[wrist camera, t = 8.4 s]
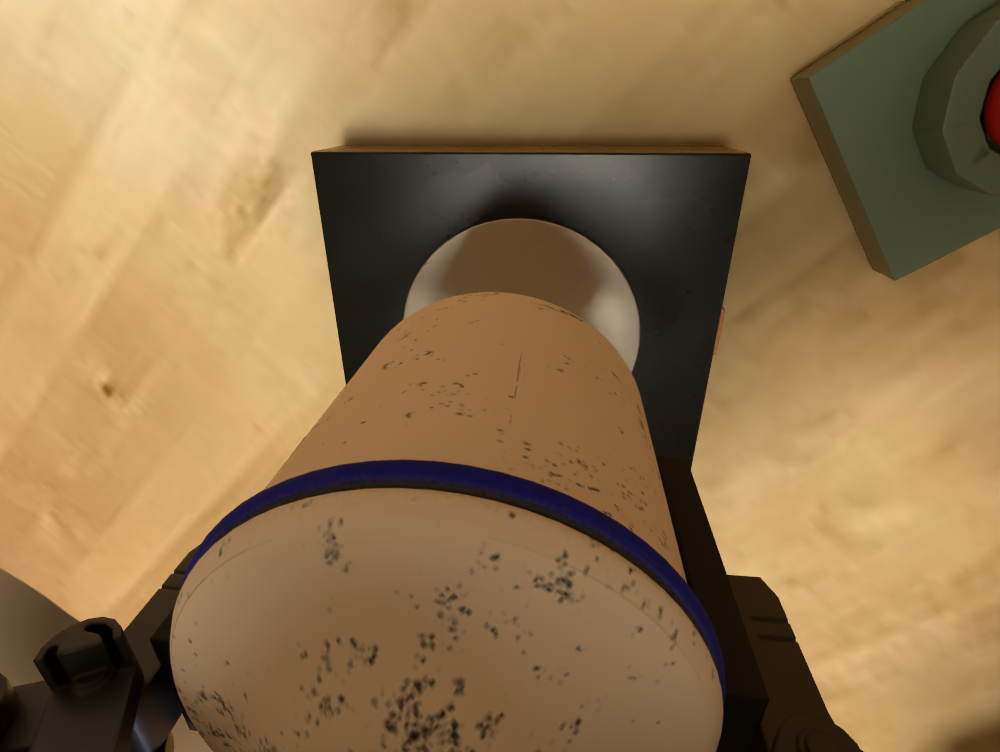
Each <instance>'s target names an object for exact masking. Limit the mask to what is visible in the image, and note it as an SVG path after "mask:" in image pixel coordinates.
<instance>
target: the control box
mask: <svg viewBox="0 0 1000 752" xmlns="http://www.w3.org/2000/svg"><path fill="white" fill-rule="evenodd" d="M999 73H1000V0H908V1H907V2H905V3H904V4H902V5H901V6H899V7H898V8H896V9H895V10H893V11H892V12H890V13H889V14H887V15H886V16H884V17H883V18H881V19H880V20H878V21H877V22H875V23H874V24H872V25H871V26H869V27H868V28H866V29H865V30H863V31H862V32H860V33H859V34H857V35H856V36H854V37H853V38H851V39H850V40H848V41H847V42H845V43H844V44H842V45H841V46H839V47H838V48H836V49H835V50H833V51H832V52H830V53H829V54H827V55H826V56H824V57H823V58H821V59H820V60H818V61H817V62H815V63H814V64H812V65H811V66H809V67H808V68H806V69H805V70H803V71H802V72H800V73H799V74H797V75H796V76H794V77H793V78H791V82H792V85H793V87H794V89H795V92H796V94H797V96H798V99H799V101H800V103H801V105H802V108H803V110H804V112H805V115H806V117H807V119H808V122H809V124H810V126H811V128H812V131H813V133H814V135H815V138H816V140H817V142H818V145H819V147H820V149H821V151H822V154H823V156H824V158H825V161H826V163H827V165H828V168H829V170H830V172H831V174H832V177H833V179H834V181H835V184H836V186H837V188H838V191H839V193H840V195H841V197H842V200H843V202H844V204H845V207H846V209H847V211H848V214H849V216H850V218H851V220H852V223H853V225H854V227H855V230H856V232H857V234H858V237H859V239H860V241H861V243H862V246H863V248H864V250H865V253H866V255H867V257H868V260H869V262H870V264H871V266H872V269H874V270H876V271H877V272H879V273H881V274H883V275H885V276H887V277H889V278H891V279H892V280H897V279H899V278H901V277H903V276H905V275H907V274H909V273H911V272H913V271H915V270H917V269H919V268H921V267H923V266H925V265H927V264H929V263H931V262H933V261H935V260H937V259H939V258H941V257H943V256H945V255H946V254H948V253H950V252H952V251H954V250H956V249H958V248H960V247H962V246H964V245H966V244H968V243H970V242H972V241H974V240H976V239H978V238H980V237H982V236H984V235H986V234H988V233H990V232H992V231H994V230H996V229H998V228H1000V147H999V146H998V145H997V144H996V143H995V142H994V141H993V140H992V139H991V137H990V136H989V134H988V132H987V130H986V126H985V122H984V109H985V103H986V99H987V96H988V93H989V91H990V88H991V86H992V84H993V82H994V81H995V79H996V77H997V76H998V74H999Z"/></svg>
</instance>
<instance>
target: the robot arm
mask: <svg viewBox="0 0 1000 752" xmlns="http://www.w3.org/2000/svg"><path fill="white" fill-rule="evenodd" d="M302 441H303V440H302ZM299 445H300V444H299ZM299 445H298V446H299ZM295 450H296V449H295ZM288 459H289V458H288ZM657 465H658V469H659V473H660V477H661V481H662V485H663V489H664V493H665V497H666V501H667V505H668V509H669V513H670V517H671V521H672V525H673V529H674V533H675V537H676V541H677V545H678V549H679V553H680V557H681V561H682V565H683V569H684V573H685V577H686V581H687V584H688V585H689V587H690V588H691V589H692V591H693V592H694V594H695V595H696V596H697V598H698V599H699V601H700V602H701V604H702V606H703V608H704V610H705V611H706V613H707V615H708V617H709V619H710V621H711V623H712V625H713V628H714V631H715V633H716V636H717V638H718V641H719V644H720V648H721V652H722V657H723V661H724V666H725V678H726V693H725V704H724V709H723V723H722V732H721V736H720V739H719V743H718V747H717V750H716V752H863V751H862V750H860V748H859V746H858V745H857V743H856V742H855V741H854V740H853V739H852V738H851V737H850V736H849V735H848V734H847V733H846V732H845V731H844V730H843V729H842V728H840V727H839V726H837V725H835V723H834V722H833V720H832V718H831V716H830V715H829V713H828V711H827V709H826V706H825V704H824V702H823V700H822V697H821V695H820V693H819V690H818V688H817V686H816V683H815V681H814V679H813V677H812V674H811V672H810V670H809V667H808V665H807V663H806V660H805V658H804V656H803V654H802V651H801V649H800V647H799V644H798V642H796V637H795V635H794V633H793V630H792V628H791V626H790V624H788V619H787V617H786V614H785V612H784V610H783V607H782V605H781V603H780V601H779V598H778V597H777V596H776V594H775V593H774V592H773V591H772V590H771V589H770V588H769V587H768V586H767V585H766V583H765V582H764V581H763V580H762V579H761V578H760V577H748V576H735V575H727V574H726V571H725V568H724V565H723V562H722V559H721V557H720V554H719V551H718V548H717V545H716V542H715V539H714V536H713V533H712V531H711V528H710V525H709V522H708V519H707V516H706V513H705V510H704V507H703V505H702V502H701V499H700V496H699V493H698V490H697V487H696V484H695V482H694V479H693V476H692V473H691V470H690V467H689V464H688V461H687V458H680V457H662V456H657ZM200 545H201V544H200ZM200 545H199V546H200ZM199 546H198V547H196V548H195V549H193V550H192V551H191V552H189V553H188V555H187V556H186V557H185V558H184V559H183V561H182V562H181V563H180V564H179V565H178V567H177V568H176V569H175V570H174V574H171V575H170V576H169V577H168V579H167V580H166V581H165V582H164V584H163V585H162V588H161V589H159V590H158V591H157V592H156V593H155V594H154V596H153V597H152V598H151V599H150V600H149V602H148V603H147V604H146V605H145V606H144V608H143V609H142V610H141V611H140V612H139V614H138V615H137V616H136V617H135V618H134V620H133V621H132V622H131V623H130V625H129V626H128V627H127V628H126V629H125V631H124V632H123V630H122V627H121V626H120V625H119V624H118V623H117V621H116V620H115V619H110V618H106V617H99V618H92V619H87V620H84V621H82V622H79V623H77V624H74V625H71V626H70V627H68V628H66V629H65V630H63V631H61V632H60V633H58V634H57V635H55V636H54V637H53V638H52V639H51V640H50V641H49V642H47V643H46V644H45V645H44V646H43V647H42V648H41V650H40V651H39V653H38V654H37V656H36V657H35V659H34V660H33V662H34V663H35V665H36V667H37V668H38V670H39V672H40V673H41V675H42V676H43V678H44V680H45V681H40V682H35V683H30V684H25V685H20V686H15V687H12V686H11V684H10V683H9V681H8V680H7V678H6V677H4V676H3V675H2V674H1V673H0V752H174V739H173V735H172V733H171V730H172V728H173V727H174V725H175V724H176V722H177V720H178V719H179V717H180V715H181V714H182V713H183V716H184V718H185V720H186V722H187V724H188V727H189V729H190V730H195V731H197V729H196V728H195V726H194V724H193V723H192V721H191V720H190V718H189V716H188V714H187V713H186V710H185V708H184V706H183V704H182V702H181V700H180V698H179V695H178V692H177V688H176V685H175V682H174V678H173V673H172V667H171V662H170V633H171V625H172V617H173V611H174V607H175V604H176V601H177V597H178V594H179V592H180V590H181V587H182V583H183V580H184V577H185V573H186V570H187V568H188V566H189V564H190V562H191V560H192V558H193V556H194V554H195V552H196V551H197V549H198V548H199Z"/></svg>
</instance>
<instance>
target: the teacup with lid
mask: <svg viewBox="0 0 1000 752" xmlns="http://www.w3.org/2000/svg"><path fill="white" fill-rule="evenodd" d="M170 662H171V667H172V673H173V678H174V682H175V685H176V688H177V692H178V695H179V698H180V700H181V702H182V704H183V706H184V708H185V710H186V713H187V714H188V716H189V718H190V720H191V721H192V723H193V724H194V726H195V728H196V729H197V731H198V732H199V734H200V735H201V737H202V738H203V739H204V740H205V742H206V743H207V744H208V746H209V747H210V748H211V749H212V750H213V751H214V752H716V750H717V747H718V743H719V739H720V736H721V732H722V723H723V709H724V704H725V693H726V678H725V666H724V661H723V657H722V652H721V648H720V644H719V641H718V638H717V636H716V633H715V631H714V628H713V625H712V623H711V621H710V619H709V617H708V615H707V613H706V611H705V610H704V608H703V606H702V604H701V602H700V601H699V599H698V598H697V596H696V595H695V594H694V592H693V591H692V589H691V588H690V587H689V585H688V584H687V581H686V577H685V573H684V569H683V565H682V561H681V557H680V553H679V549H678V545H677V541H676V537H675V533H674V529H673V525H672V521H671V517H670V513H669V509H668V505H667V501H666V497H665V493H664V489H663V485H662V481H661V477H660V473H659V469H658V465H657V461H656V457H655V453H654V449H653V445H652V441H651V437H650V433H649V428H648V424H647V420H646V416H645V412H644V408H643V404H642V400H641V396H640V393H639V390H638V387H637V384H636V382H635V379H634V377H633V375H632V373H631V372H630V370H629V368H628V366H627V364H626V363H625V361H624V360H623V358H622V357H621V355H620V354H619V353H618V351H617V350H616V349H615V348H614V347H613V345H612V344H611V343H610V342H609V341H608V340H607V339H606V338H605V337H604V336H603V335H602V334H601V333H600V332H599V331H597V330H596V329H595V328H594V327H593V326H591V325H590V324H589V323H587V322H586V321H584V320H583V319H581V318H580V317H578V316H577V315H575V314H573V313H571V312H569V311H567V310H565V309H564V308H562V307H559V306H557V305H554V304H552V303H549V302H547V301H543V300H540V299H537V298H534V297H529V296H524V295H519V294H513V293H503V292H480V293H469V294H464V295H458V296H454V297H450V298H447V299H443V300H440V301H437V302H435V303H433V304H430V305H428V306H426V307H424V308H422V309H420V310H418V311H416V312H414V313H413V314H411V315H410V316H408V317H407V318H405V319H404V320H402V321H401V322H400V323H399V324H398V325H396V326H395V327H394V328H393V329H392V330H391V331H390V332H389V333H388V334H387V335H386V336H385V337H384V338H383V339H382V340H381V341H380V343H379V344H378V345H377V347H376V348H375V349H374V350H373V352H372V353H371V354H370V355H369V357H368V358H367V359H366V361H365V362H364V363H363V364H362V366H361V367H360V368H359V369H358V371H357V372H356V373H355V375H354V376H353V377H352V378H351V380H350V381H349V382H348V383H347V385H346V386H345V387H344V389H343V390H342V391H341V392H340V394H339V395H338V396H337V397H336V399H335V400H334V401H333V403H332V404H331V405H330V406H329V408H328V409H327V410H326V411H325V413H324V414H323V415H322V417H321V418H320V419H319V420H318V422H317V423H316V424H315V425H314V427H313V428H312V429H311V431H310V432H309V433H308V434H307V436H306V437H305V438H304V439H303V441H302V442H301V443H300V445H299V446H298V447H297V448H296V450H295V451H294V452H293V453H292V455H291V456H290V457H289V459H288V460H287V461H286V462H285V464H284V465H283V466H282V467H281V469H280V470H279V471H278V473H277V474H276V475H275V476H274V478H273V479H272V480H271V481H270V483H269V484H268V485H267V487H266V488H265V489H264V490H263V491H261V492H259V493H258V494H256V495H254V496H253V497H251V498H250V499H248V500H246V501H245V502H243V503H242V504H240V505H239V506H238V507H237V508H235V509H234V510H233V511H231V512H230V513H229V514H228V515H226V516H225V517H224V518H223V519H222V520H221V521H220V522H219V523H218V524H217V525H216V526H215V527H214V529H213V530H212V531H211V532H210V533H209V534H208V535H207V536H206V538H205V539H204V541H203V542H202V543H201V545H200V546H199V548H198V549H197V551H196V552H195V554H194V556H193V558H192V560H191V562H190V564H189V566H188V568H187V570H186V573H185V577H184V580H183V583H182V587H181V590H180V592H179V594H178V597H177V601H176V604H175V607H174V611H173V617H172V625H171V633H170Z"/></svg>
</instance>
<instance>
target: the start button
mask: <svg viewBox="0 0 1000 752" xmlns="http://www.w3.org/2000/svg"><path fill="white" fill-rule="evenodd" d="M984 122H985V126H986V130H987V132H988V134H989V136H990V137H991V139H992V140H993V141H994V142H995V143H996V144H997V145H998V146H999V147H1000V73H999V74H998V76H997V77H996V79H995V81H994V82H993V84H992V86H991V88H990V91H989V93H988V96H987V99H986V103H985V109H984Z"/></svg>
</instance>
